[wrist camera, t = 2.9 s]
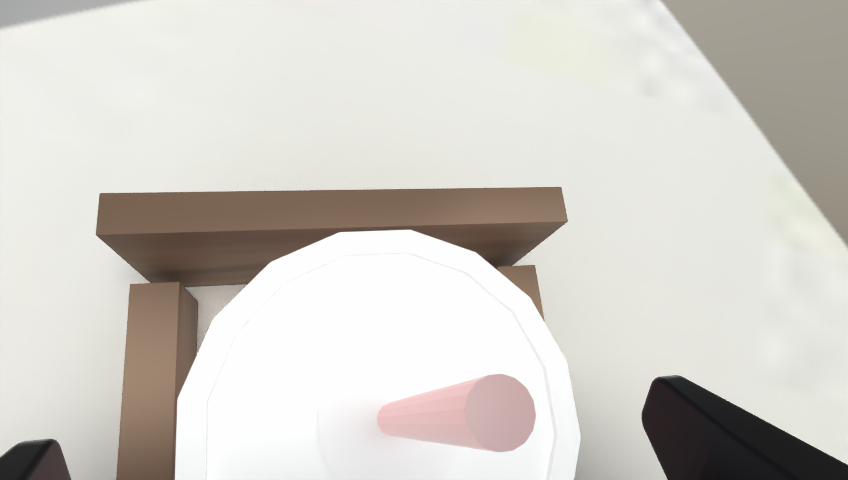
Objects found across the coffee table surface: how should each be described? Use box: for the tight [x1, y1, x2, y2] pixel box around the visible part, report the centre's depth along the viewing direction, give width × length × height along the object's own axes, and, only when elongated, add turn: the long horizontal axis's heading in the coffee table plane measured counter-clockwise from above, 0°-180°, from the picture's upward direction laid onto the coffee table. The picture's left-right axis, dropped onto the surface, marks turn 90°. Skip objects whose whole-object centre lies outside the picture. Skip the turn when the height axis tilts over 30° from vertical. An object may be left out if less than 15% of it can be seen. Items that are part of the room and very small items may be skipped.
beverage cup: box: [175, 230, 581, 480], centre depth 10 cm, size 6×6×14 cm
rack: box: [96, 187, 568, 480], centre depth 14 cm, size 14×11×5 cm
